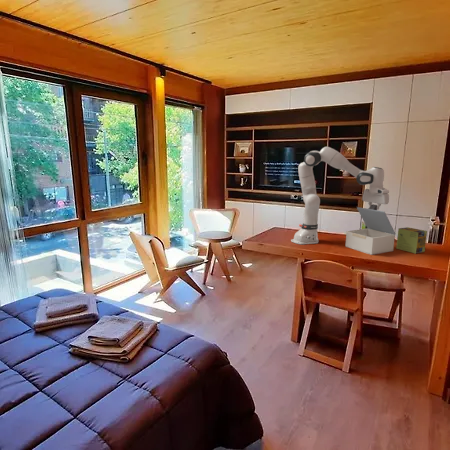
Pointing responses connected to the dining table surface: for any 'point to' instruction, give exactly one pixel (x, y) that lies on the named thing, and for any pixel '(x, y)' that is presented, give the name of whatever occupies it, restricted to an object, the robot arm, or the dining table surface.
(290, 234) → the dining table surface
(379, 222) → the flap
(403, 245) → the protein box
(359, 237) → the carton
